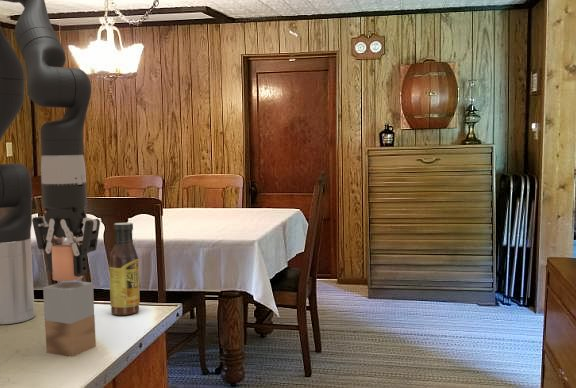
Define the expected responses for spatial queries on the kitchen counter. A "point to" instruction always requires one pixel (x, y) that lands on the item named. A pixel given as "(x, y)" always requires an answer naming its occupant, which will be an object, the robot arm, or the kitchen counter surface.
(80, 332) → the walnut block
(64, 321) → the slate block
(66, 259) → the clay cylinder
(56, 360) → the kitchen counter surface
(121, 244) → the sauce bottle
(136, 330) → the kitchen counter surface
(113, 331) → the kitchen counter surface
